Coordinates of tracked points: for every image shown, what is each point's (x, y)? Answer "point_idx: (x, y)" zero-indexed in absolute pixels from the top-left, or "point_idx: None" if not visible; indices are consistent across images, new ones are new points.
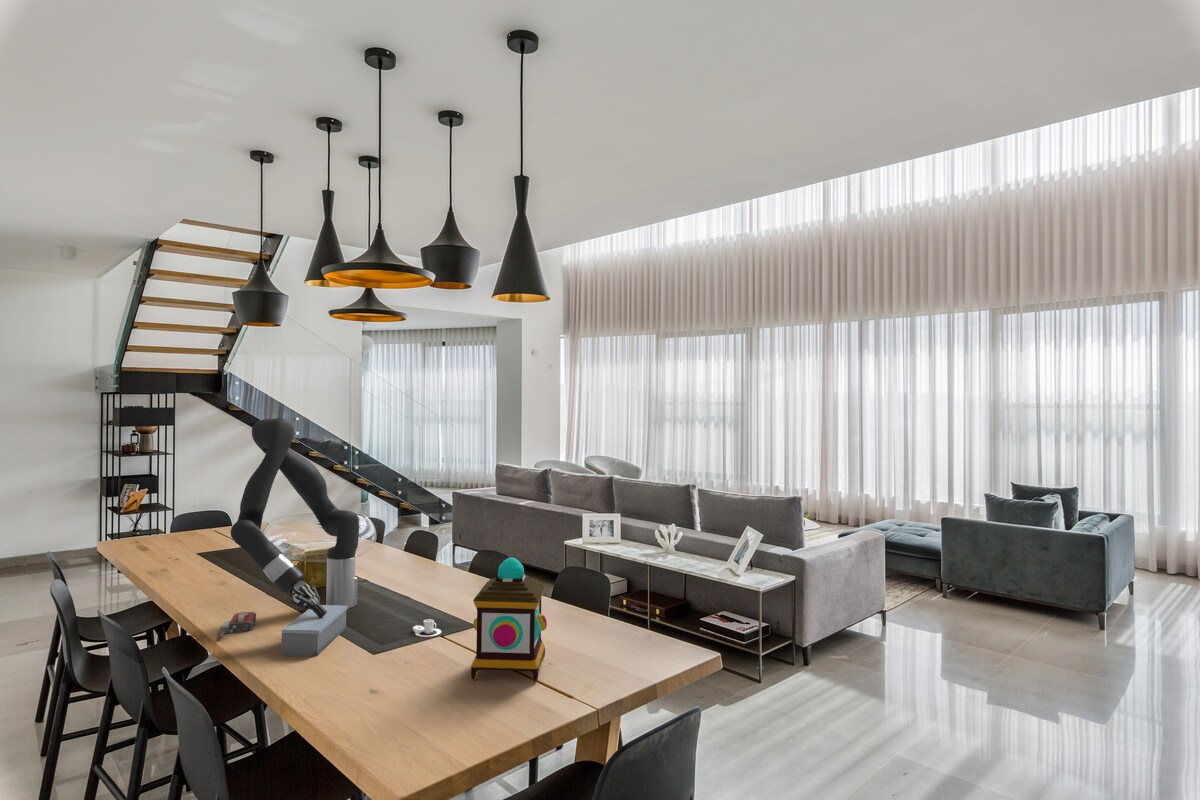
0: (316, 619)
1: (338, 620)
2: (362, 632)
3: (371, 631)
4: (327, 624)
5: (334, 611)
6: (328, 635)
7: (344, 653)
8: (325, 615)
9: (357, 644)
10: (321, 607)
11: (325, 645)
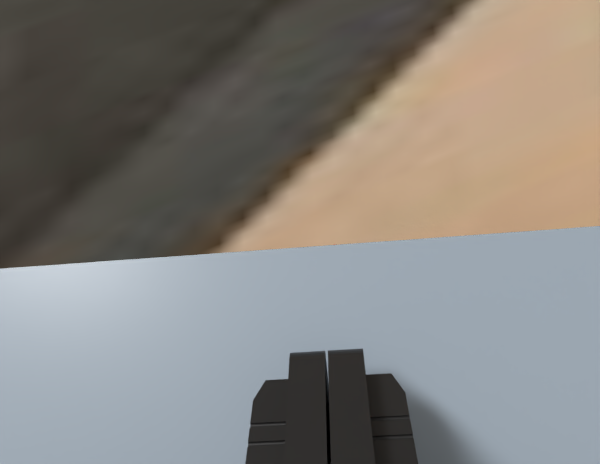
0: (441, 442)
1: None
2: (103, 151)
3: (80, 94)
4: (563, 232)
5: (71, 346)
6: None
7: (585, 98)
8: (255, 392)
9: (379, 83)
10: (332, 430)
11: None
